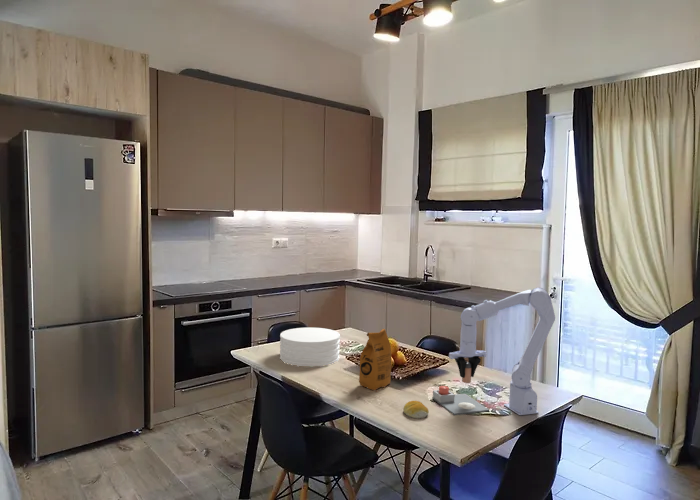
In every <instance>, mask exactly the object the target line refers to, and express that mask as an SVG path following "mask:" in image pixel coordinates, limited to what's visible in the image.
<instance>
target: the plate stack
mask: <svg viewBox="0 0 700 500" xmlns="http://www.w3.org/2000/svg"><path fill="white" fill-rule="evenodd" d="M279 337H280V340H279V342H280V343H279V348H280V350H279V354H280V355H279V360H280V359H281V360H282V361H283V362H285V363H284V364H286V363H288V364H287V365H289V364H292V365H291V366H293V365H297V366H296V367H299V366H320V367H324V366H323V365H327V366H329V365H328V364H331V365H333V364H332V363H334V362H336V361H337V362H339V360H340V348H341V347H340V344H341V343H340V341H341V340H340V339H341V334H340V332H339V331H337V330H334V329H330V328H324V327H296V328H289V329H286V330H283V331H281V332H280V335H279ZM281 360H280V361H281ZM282 361H281V362H282ZM283 362H282V363H283ZM337 362H336V363H337ZM334 364H335V363H334Z"/></svg>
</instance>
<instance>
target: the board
mask: <svg viewBox="0 0 700 500" xmlns="http://www.w3.org/2000/svg"><path fill="white" fill-rule="evenodd" d="M431 399H433V400H434V401H436V402H437V403H438V404H439V405H441V406H442V407H443V408H444V409H445V410H447V411H448V412H449V413H450V414H452V415H453V416H458V415H459V416H460V415H467V414H476V413H482V412H483V413H484V412H490V409H489V408H487V407H486V406H484V404H481V402H478V401H477V400H476V399H474V398H473V397H471V396H469V395H468V394H466V393H457V394H454V392H451V390H449V394H447V395H441V394H439V389H435V390H432V398H431Z"/></svg>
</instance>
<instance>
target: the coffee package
mask: <svg viewBox="0 0 700 500" xmlns="http://www.w3.org/2000/svg"><path fill="white" fill-rule="evenodd" d="M366 336H367V337H368V339H367V342H366V344H365V346H364V348H363V349H362V351H361V353H360V357H359V358H360V359H359V377H358V382H359V385H360V386H361V387H364V388H365V387H367V388H366V389H369V390H370V391H372V390H373V391H376V390H378V389H379V388H385V387H387V386H388V385H390V384H391V380H392V379H391V376H392V375H391V374H392V373H391V372H392V346H391V342H390V339H389V337H388V334H387V331H386V328H382V329H381V330H380V331H379V332H367V334H366Z"/></svg>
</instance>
